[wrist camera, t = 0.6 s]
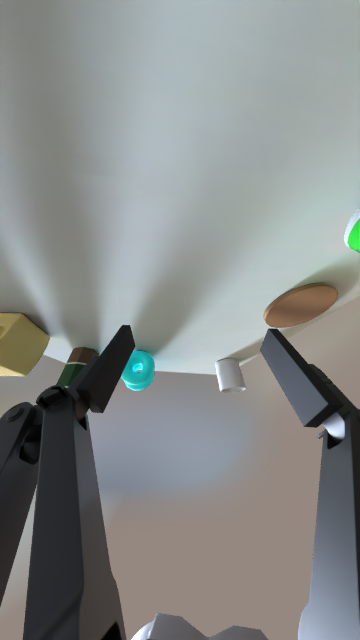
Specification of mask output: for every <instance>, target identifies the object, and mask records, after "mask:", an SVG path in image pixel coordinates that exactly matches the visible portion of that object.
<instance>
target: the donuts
mask: <svg viewBox="0 0 360 640" xmlns="http://www.w3.org/2000/svg"><path fill="white" fill-rule="evenodd" d="M154 368H155V364H154V360H153V358H152V357H151V355H150V354H148V353H147V352H144V351H134V352H132V354H131V356H130V358H129V360H128V362H127V364H126V366H125V369H124V371H123V373H122V375H121V378H122V379H123V380H124V382H125V384H126V386H127V387H128V388H130V389H132V390H136V391H138V390H143V389H145V388H147V387H148V386H149V385H150V384H151V382H152V380H153V378H154ZM138 369H141V371H140V372H135V371H136V370H138Z"/></svg>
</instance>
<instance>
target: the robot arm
mask: <svg viewBox="0 0 360 640" xmlns="http://www.w3.org/2000/svg"><path fill="white" fill-rule="evenodd" d="M134 348H135V342H134V339H133V335H132V331H131V327H130V325H122V326H121V328H120V329H119V331H118V332H117V333H116V335H115V336H114V337H113V339H112V340H111V342H110V343H109V344H108V346H107V347H106V348H105V350H104V351H103V353H102V354H101V355H100V356H95V357H93V358H92V359H91V360H89V361H88V363H87V364H86V365H85V366H84V368H83V369H82V370H81V372H80V373H79V374H78V375H77V377H76V378H75V379H74V380H73V382H72V383H71V384H70V386H69V387H68V388H67V389H66V388H65V386H63V385H61V384H60V385H54V386H51V387H50V388H48V389H46V390H45V391H44V392H42V393H41V394H40V395H39V397H38V398H37V400H36V403H37V404H38V405H34V406H33V405H32V404H31V403H29V402H23V403H20V404H18V405H15V406H14V407H12V408H11V409H9V410H8V411H7V412H6V413H5V414H4V415H3V416H2V417H1V418H0V606H1V602H2V599H3V595H4V593H5V589H6V585H7V582H8V579H9V576H10V572H11V569H12V566H13V562H14V559H15V556H16V552H17V549H18V546H19V542H20V539H21V536H22V532H23V529H24V525H25V522H26V518H27V515H28V512H29V509H30V505H31V502H32V499H33V495H34V492H35V488H36V485H37V491H36V502H35V513H34V524H33V536H32V547H31V557H30V567H29V578H28V590H27V601H26V611H25V622H24V633H23V640H126V634H125V628H124V622H123V616H122V610H121V604H120V598H119V593H118V588H117V585H116V581H115V579H114V577H113V575H112V572H111V567H110V562H109V555H108V548H107V542H106V535H105V529H104V522H103V515H102V508H101V502H100V495H99V488H98V482H97V475H96V469H95V462H94V456H93V449H92V442H91V436H90V429H89V422H88V416H87V414H86V413H87V411H88V409H89V408H90V410H91V411H92V412H97V413H103V412H104V410H105V408H106V406H107V404H108V402H109V399H110V397H111V395H112V393H113V391H114V389H115V387H116V385H117V383H118V381H119V379H120V377H121V375H122V373H123V371H124V369H125V366H126V364H127V362H128V360H129V358H130V356H131V354H132V352H133V350H134ZM260 351H261V353H262V355H263V357H264V358H265V360H266V361H267V363H268V365H269V367H270V368H271V370H272V372H273V374H274V376H275V377H276V379H277V381H278V383H279V384H280V386H281V388H282V390H283V391H284V393H285V395H286V397H287V398H288V400H289V402H290V404H291V405H292V407H293V409H294V410H295V412H296V414H297V416H298V417H299V419H300V421H301V423H302V424H303V426H304V427H318V426H319V425H321V424H323V425H324V426H325V428H326V429H325V430H324V431H323V432H321V433H320V434H319V435H318V437H317V438H319V439H320V438H321V437H323V447H322V459H321V470H320V481H319V493H318V505H317V517H316V528H315V539H314V552H313V563H312V575H311V586H310V596H309V601H308V604H307V605H306V607H305V608H304V610H303V611H302V615H301V618H300V624H299V631H298V640H360V410H359V409H357V408H356V407H355V406H354V405H353V404H352V403H351V402H350V401H349V400H348V398H347V397H346V396H345V395H344V394H343V393H342V392H341V391H340V390H339V389H338V388H337V387H336V386H335V385H334V384H333V383H332V381H331V380H330V379H328V378H327V376H326V375H325V374H324V373H323V372H322V371H321V370H320V369H319V368H317V367H316V366H315V365H313V364H308V363H307V362H306V361H305V360H304V359H303V358H302V356H301V355H300V354H299V353H298V352H297V351H296V350H295V348H294V347H293V346H292V345H291V344H290V343H289V342H288V341H287V339H286V338H285V337H284V336H283V335H282V334H281V332H280V331H279V330H278V329H268V331H267V333H266V336H265V338H264V341H263V343H262V346H261V348H260ZM132 640H268V639H267V638H266V636H265V635H264V634H263V633H262V631H261V630H258V629H251V628H246V627H240V626H232V627H230V628H228V629H226V630H224V631H222V632H220V633H218V634H216V635H214V636H212V637H206V636H204V635H203V634H202V633H201V632H199V631H198V630H197V629H196V628H194V627H193V626H192V625H191V624H189V623H188V622H187V621H186V620H184V619H183V618H182V617H179V616H173V615H167V614H161V613H156V616H155V619H154V621H153V622H151V623H149V624H147V625H146V626H144V627H143V628H142V629H141V630H140V631H139V632H138V633H137V634H136V635H135V636H134V637H133V639H132Z"/></svg>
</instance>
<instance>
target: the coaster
mask: <svg viewBox="0 0 360 640" xmlns="http://www.w3.org/2000/svg"><path fill="white" fill-rule="evenodd" d="M337 297H338V292H337V290H336V289H335V288H334V287H333V286H331V285H329V284H326V283H313V284H308V285H304V286H301V287H298V288H295V289H293V290H291V291H288V292H287V293H285V294H283V295H281V296H280V297H278V298H277V299H276V300H274V301H273V302H272V303H271V304H270V305H269V306H268V307H267V309H266V310H265V312H264V320H265V322H266V323H267V324H268V325H269V326H271V327H276V328H283V327H290V326H295V325H298V324H301V323H304V322H307V321H309V320H311V319H313V318H315V317H317V316H319V315H320V314H322V313H323V312H325V311H326V310H327V309H329V308H330V307H331V306H332V305H333V304H334V302H335V301H336V299H337Z"/></svg>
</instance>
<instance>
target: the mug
mask: <svg viewBox="0 0 360 640" xmlns="http://www.w3.org/2000/svg"><path fill="white" fill-rule="evenodd" d="M215 366H216V371H217V376H218V381H219V386H220V391H221V392H225V393H226V392H227V393H230V392H239V391H242V390H245V389H246V386H245V383H244V380H243V377H242V373H241V370H240V367H239V363H238V361H237V360H236V359H223V360H220V361H218V362H216V363H215Z"/></svg>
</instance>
